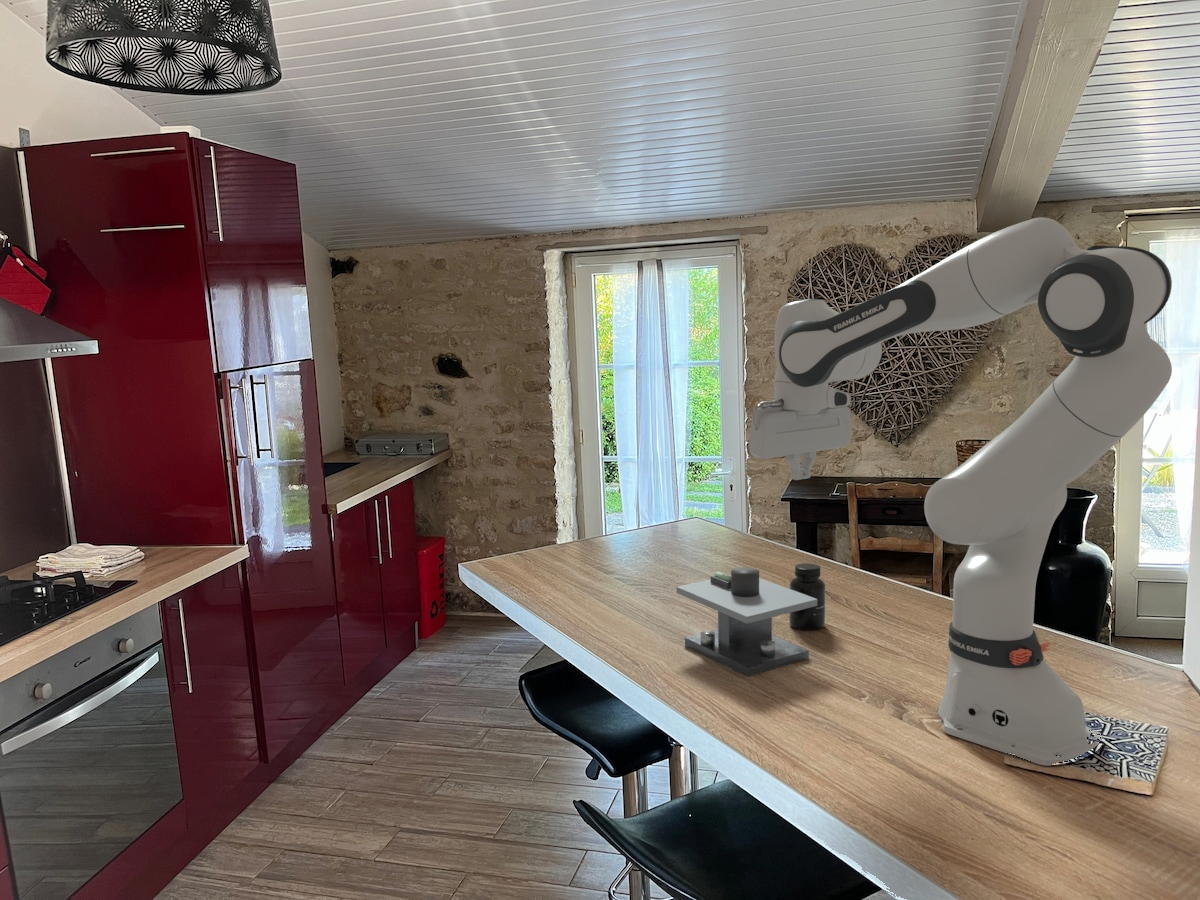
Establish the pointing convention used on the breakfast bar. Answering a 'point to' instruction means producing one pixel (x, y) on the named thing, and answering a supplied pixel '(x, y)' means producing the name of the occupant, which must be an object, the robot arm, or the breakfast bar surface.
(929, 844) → the breakfast bar surface
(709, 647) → the stand
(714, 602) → the plate
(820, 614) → the supplement bottle
